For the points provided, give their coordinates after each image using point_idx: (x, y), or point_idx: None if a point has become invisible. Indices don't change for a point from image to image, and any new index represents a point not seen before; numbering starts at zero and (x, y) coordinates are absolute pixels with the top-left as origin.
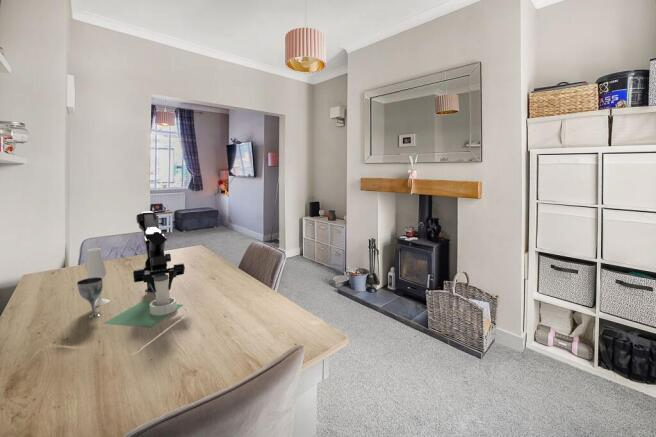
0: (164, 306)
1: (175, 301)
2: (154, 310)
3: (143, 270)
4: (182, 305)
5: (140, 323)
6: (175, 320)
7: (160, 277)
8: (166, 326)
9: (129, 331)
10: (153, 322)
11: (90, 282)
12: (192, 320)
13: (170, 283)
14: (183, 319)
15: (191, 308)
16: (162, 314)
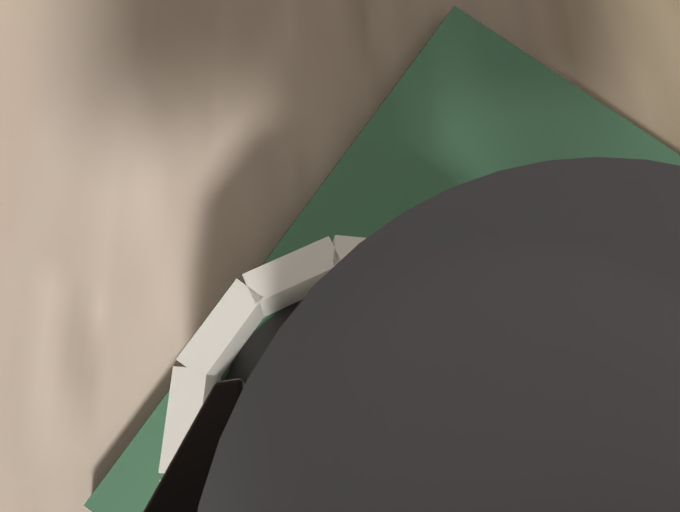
0: (341, 237)
1: (177, 368)
2: None
3: None
4: (103, 482)
5: (566, 146)
6: (221, 100)
7: (647, 317)
8: (310, 7)
9: (630, 62)
10: (441, 107)
11: None
12: (47, 17)
13: (176, 490)
14: (137, 85)
15: (2, 366)
16: None
